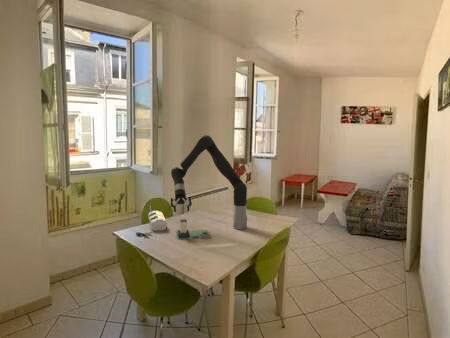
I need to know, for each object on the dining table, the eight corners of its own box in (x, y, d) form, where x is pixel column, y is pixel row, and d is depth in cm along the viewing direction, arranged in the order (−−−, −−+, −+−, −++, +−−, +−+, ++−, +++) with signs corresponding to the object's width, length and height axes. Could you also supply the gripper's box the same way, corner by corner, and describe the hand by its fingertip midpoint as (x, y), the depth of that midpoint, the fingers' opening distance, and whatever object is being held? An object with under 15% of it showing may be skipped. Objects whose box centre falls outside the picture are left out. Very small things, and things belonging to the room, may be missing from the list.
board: (206, 231, 221) (206, 225, 220) (211, 239, 205) (211, 233, 205) (175, 233, 215) (175, 227, 215) (177, 242, 200) (177, 235, 199)
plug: (185, 234, 209) (185, 219, 208) (186, 236, 206) (186, 220, 204) (179, 235, 208) (179, 219, 207) (180, 237, 205) (180, 221, 203)
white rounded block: (148, 220, 244) (148, 204, 242) (162, 219, 247) (162, 203, 245) (151, 231, 220) (151, 213, 218) (166, 230, 223) (166, 212, 222)
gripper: (170, 188, 219) (171, 209, 209) (190, 188, 222) (192, 208, 213) (169, 194, 225) (170, 214, 215) (189, 193, 228) (191, 213, 219)
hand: (181, 211), depth 214 cm, fingers open, 8 cm apart
